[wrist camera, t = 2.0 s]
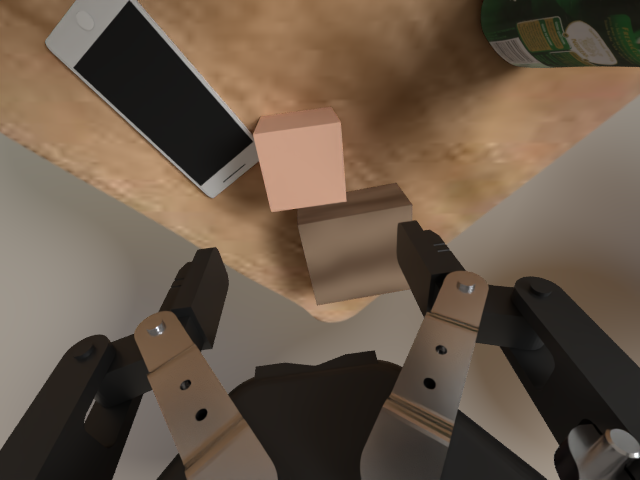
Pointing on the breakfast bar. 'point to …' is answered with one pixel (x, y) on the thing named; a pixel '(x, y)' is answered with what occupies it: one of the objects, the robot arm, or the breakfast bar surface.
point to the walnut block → (355, 244)
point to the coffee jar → (564, 32)
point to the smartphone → (154, 89)
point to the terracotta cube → (301, 158)
